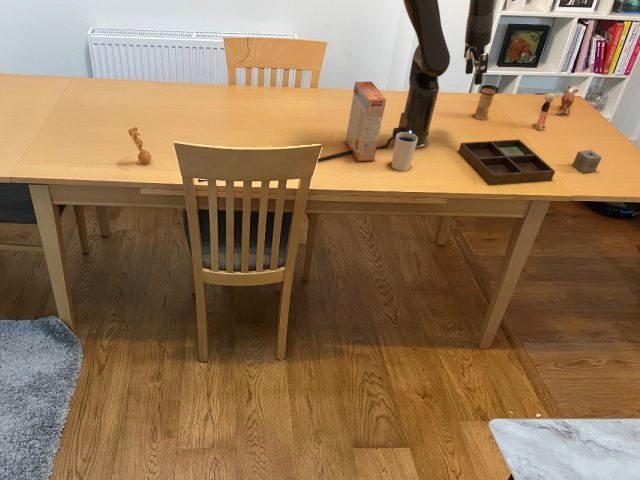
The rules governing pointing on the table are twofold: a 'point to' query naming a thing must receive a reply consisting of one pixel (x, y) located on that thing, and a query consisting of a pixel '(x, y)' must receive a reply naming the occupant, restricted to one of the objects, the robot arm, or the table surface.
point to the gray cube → (586, 161)
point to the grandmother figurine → (544, 111)
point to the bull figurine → (568, 98)
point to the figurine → (143, 155)
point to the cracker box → (365, 120)
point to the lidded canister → (484, 103)
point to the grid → (505, 162)
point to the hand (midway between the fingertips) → (473, 78)
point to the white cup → (404, 150)
